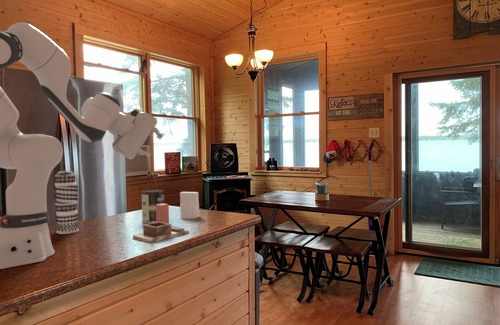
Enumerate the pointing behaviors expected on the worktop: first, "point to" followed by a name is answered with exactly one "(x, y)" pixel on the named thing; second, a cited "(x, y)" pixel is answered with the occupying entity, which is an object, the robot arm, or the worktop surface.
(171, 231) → the jig
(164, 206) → the red rectangular block
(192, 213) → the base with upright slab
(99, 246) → the worktop surface
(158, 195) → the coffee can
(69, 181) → the decorative candle
